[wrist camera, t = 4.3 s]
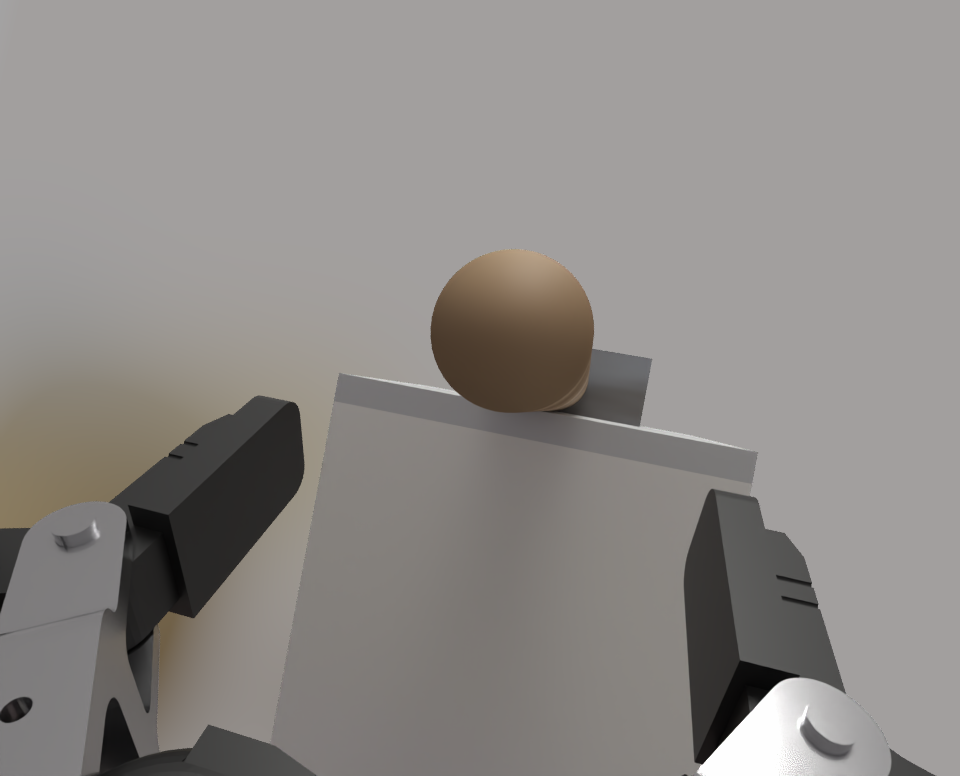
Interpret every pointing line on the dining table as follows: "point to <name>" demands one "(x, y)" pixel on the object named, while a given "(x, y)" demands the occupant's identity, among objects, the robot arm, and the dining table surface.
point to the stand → (495, 591)
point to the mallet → (530, 342)
